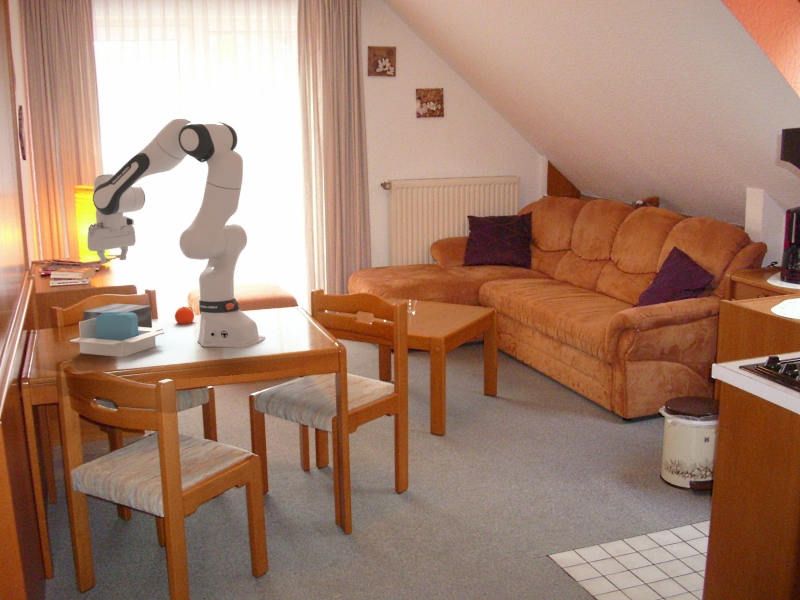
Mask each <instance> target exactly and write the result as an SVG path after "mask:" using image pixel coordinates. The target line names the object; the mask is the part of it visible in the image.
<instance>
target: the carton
mask: <svg viewBox="0 0 800 600" xmlns="http://www.w3.org/2000/svg"><path fill="white" fill-rule="evenodd" d="M163 330H164V329H163V328H157V327H152V328H147V327H138V332H139V336H136V337H132V338H129V339H126V340H123V341H117V340H105V339H98V337H97V324H96V318H93V319H89V320H85V321H84V320H82V321H79V322H78V331H79V337H77V338H74V339H70V340H69V342H70V343H79V351H80V354H85V355H95V356H96V355H97V356H108V357H118V358H125V357H129V356H130V355H134V354H136V353H139V352H143V351H145V350H148V349H151V348H153V347H156V345H157V344H156V337H157V336H159V335H164V334H165V331H163Z"/></svg>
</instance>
